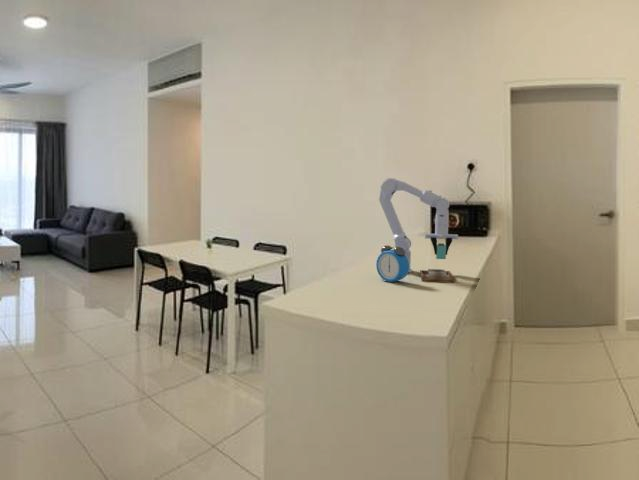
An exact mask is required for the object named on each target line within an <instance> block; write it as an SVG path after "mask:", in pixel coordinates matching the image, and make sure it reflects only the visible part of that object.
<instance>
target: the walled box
mask: <svg viewBox="0 0 639 480" xmlns="http://www.w3.org/2000/svg"><path fill="white" fill-rule="evenodd" d="M419 276H420V280H421V282H428V283H429V282H433V283H434V282H435V283H454V282H455V276H454V275H453V274H452V272H451V271H450V270H449V271H448V270H446V269H442V268H441V269H440V268H439V269H437V268H435V269H433V268H428V269H427V270H423V269H422V270H421V269H420V270H419Z"/></svg>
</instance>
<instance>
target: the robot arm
mask: <svg viewBox="0 0 639 480" xmlns="http://www.w3.org/2000/svg"><path fill="white" fill-rule="evenodd" d="M397 191H404V192H406V193H408V194H411V195H413V196H415V197H417V198H419V200H420V202H422V203H423V204H425V205H428V206H429V207H431V208H435V209H436V211H435V222H434V223H435V225H434V227H435V228H434V233H425V234H424V239H430V241H431V243H432V244H431V245H432V247H433V250H434V251H433V252H434V255H435V256H436V255H437V245H438V239H441V240H442V239H443V240H445V243H444V245H446V256H448V252H449V249H450V246H451V245H452V242H453V240H458V239H459V234H456V233H455V234H454V233H449V220H450V219H449V217H450V215H449V208H450V202H449V200H448V199H447V198H446V197H442V195H438V194H436V193H434V192H433V190H430V189H429V190H427V189H425V190H421V189H419V188H417V187H415V186H413V185H412V184H409V183H407V182H405V181H403V180H399V179H396V178H391V177H388V178H386V179H384V180H383V182H382V184H381V185H380V191H379V198H378V199H379V200H378V201H379V203H380V205H381V208H382V210H383V213H384V216H385V218H386V220H387V222H388V225H389V228H390V230H391V232H392V235H393V241H394V249H395V248H396V247H402V248H403V249H404V250H405V256H406V257H407V259H408V262H409V270H408V273H412V268H411V262H412V261H411V260H412V259H411V255H412V251H411V250H410V248H411V247H412V241H411V239H410V238H409V237H407V235H406V232H405V231H404V230H403V229H404V228H403V227H402V224H401V222H400V220H399V218H398V214H397V213H396V210H395V208H394V205H393V203H392V199H393V198H392V197H393V195H394V194H395V193H396V192H397Z"/></svg>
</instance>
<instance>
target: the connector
mask: <svg viewBox="0 0 639 480" xmlns="http://www.w3.org/2000/svg"><path fill="white" fill-rule="evenodd" d="M435 258H436V260H446V259H447V255H446V245H445V243H443V242H442V243H441V242H437V255H435Z"/></svg>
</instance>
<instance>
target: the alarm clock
mask: <svg viewBox="0 0 639 480" xmlns="http://www.w3.org/2000/svg"><path fill="white" fill-rule="evenodd" d="M408 270H409V262H408V259H407V257H406V256H405V250H404V249H403V248H402V247H396V248H395V247H393V246H391V245H388V244H387V245H384V246H383V247H381V249H380V254H379V255H378V257H377V260H376V271H377V273H378V275H379V277H380V278H381V279H382V281H385V282H388V283H393V282H394V284H397V281H400V280H403V279H405V278H406V276H407V275H408V273H409V272H408Z"/></svg>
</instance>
